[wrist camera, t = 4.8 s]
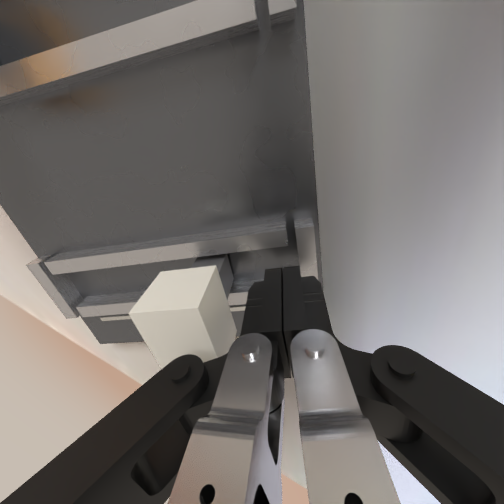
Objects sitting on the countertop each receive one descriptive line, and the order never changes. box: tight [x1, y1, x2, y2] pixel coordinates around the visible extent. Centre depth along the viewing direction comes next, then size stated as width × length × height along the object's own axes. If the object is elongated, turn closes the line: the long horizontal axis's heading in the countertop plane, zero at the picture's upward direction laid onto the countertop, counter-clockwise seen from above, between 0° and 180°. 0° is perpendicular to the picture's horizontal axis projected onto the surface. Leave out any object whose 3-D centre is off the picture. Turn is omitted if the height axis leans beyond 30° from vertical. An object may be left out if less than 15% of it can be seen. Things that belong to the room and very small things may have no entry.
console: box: [0, 0, 323, 344], centre depth 11 cm, size 16×22×2 cm
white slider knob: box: [128, 253, 237, 370], centre depth 11 cm, size 2×4×5 cm, turn 11°
